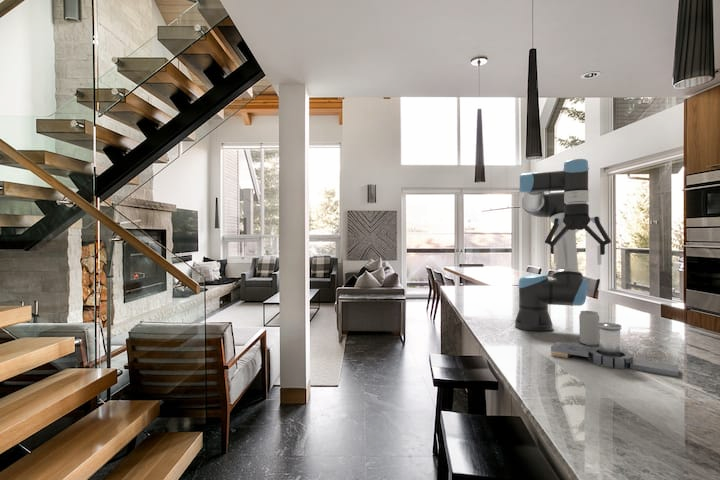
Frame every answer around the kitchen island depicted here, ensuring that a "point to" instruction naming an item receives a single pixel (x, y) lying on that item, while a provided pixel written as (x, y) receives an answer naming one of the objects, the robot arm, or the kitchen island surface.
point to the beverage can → (589, 327)
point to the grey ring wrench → (613, 359)
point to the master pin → (609, 339)
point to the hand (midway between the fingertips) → (576, 263)
